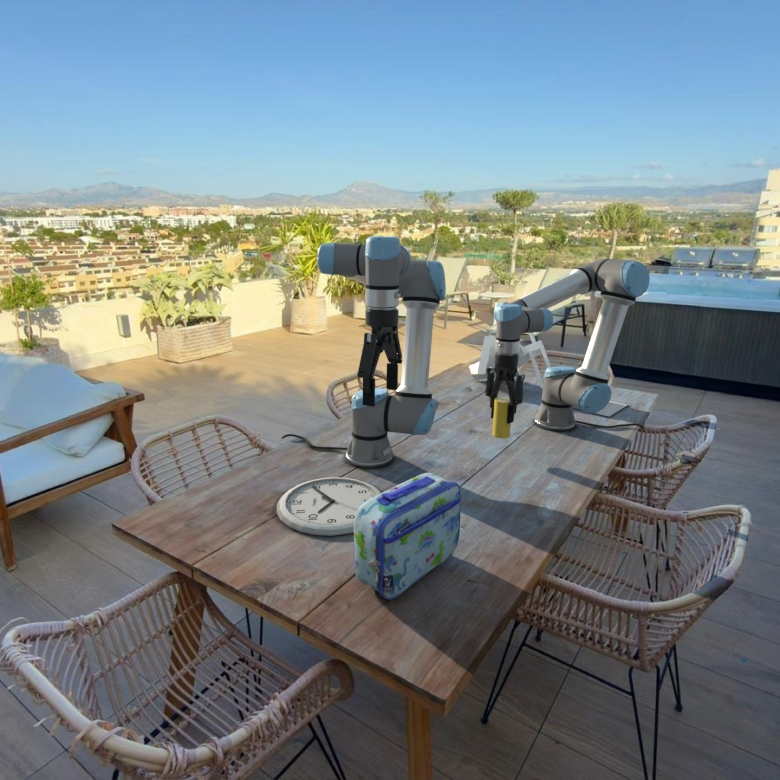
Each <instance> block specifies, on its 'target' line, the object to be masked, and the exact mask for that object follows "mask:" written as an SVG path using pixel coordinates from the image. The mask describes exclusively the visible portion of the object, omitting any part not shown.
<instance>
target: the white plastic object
mask: <svg viewBox="0 0 780 780" xmlns="http://www.w3.org/2000/svg"><path fill="white" fill-rule="evenodd" d="M528 336H529V338H530V341H531V343H529V344H527V345H525V346H524V345H522V343H520V345H519V352H518V353H517V354H518V355H519V357H518V365H517V370H518V369H520V368H521V367H522V366H524V365H525V364H527V363H528V362H529V361H531V364H532V367H533V369H534V373H535V375H536V379H537V382H538V386H539V387H540V389H541V390H543V380H544V379H543V377H542V374H541V371H540V368H539V365H538V362H537V359H536V357H538V356H541V355H542V357H543V361H544V363H545V367H546V369H547V368H549V367H552V366H551V363H550V360H549V356H548V353H547V351H546V348H545V345H544V344H543V341H542V340H541V339H540V340H537V339H536V338H535V335H534V333H528ZM536 340H537V341H536ZM495 347H496V337H495V336H494V335H484V337H483V342H482V348H481V351H480V352H481V353H480V357H479V361H477V362H475V363H472V364H470V365H469V366H468V367H469V371H470V375H471V376H472V378H473V379H474V381H480V380H487V368H489V367H494V366H495V363H494V361H495V353H496V351H495ZM495 378H496V373H495V377H494V379H495Z"/></svg>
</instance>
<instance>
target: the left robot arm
mask: <svg viewBox="0 0 780 780" xmlns="http://www.w3.org/2000/svg"><path fill="white" fill-rule="evenodd" d="M316 264H317V269H318V270H319V272H320V273H321V274H323V275H330V276H342V277H344V278H347V279H350V280H352V281H355V282H357V283H360V284H362V285H363V287H365V290H364V291H365V292H364V294H365V296H364V298H365V299H364V305H365V307H366V308H365V312H364V313H365V314H364V315H365V316H364V317H365V320H364V321H365V324H366V326H369V327H370V332H364V335H363V345H362V350H361V355H360V360H359V364H358V370H357V377H358V378H360V379H362V389H360V390H358V391H357V392H355V393H354V394H353V395H352V397H351V406H350V410H351V411H350V412H351V413H350V414H351V436H350V439H349V442H348V443H349V444H348V446H347V447H341V446H340V447H339V446H338V447H337V446H317V445H313V444H310V442H309V440H308V439H307V437H304V436H302V435H298V434H294V433H288V434H284V435H283V436H281V439H282V440H283V439H285V438H287V437H294V438H298V439H301V440H303V441H305V443H306V445H307V446H308V447H310V448H313V449H316V450H339V451H346V453H345V458H346V459H345V460H346V461H347V462H348V464H350V465H352V466H355V467H358V468H364V469H375V468H376V469H377V468H381V467H384V466H387V465H389V464H390V463H392V461H393V457H394V455H393V449H392V447H391V443H390V440H389V436H388V433H397V434H404V435H405V434H407V435H412V436H426V435H429V433H430V432H431V430H432V426H433V424H434V420H435V417H436V411H437V403H438V401H437V399H436V398H435V399H436V400H435V399H434V398H433V392H432V391H431V390H430V388H429V379H430V378H429V377H430V367H431V366H430V365H431V354H432V344H433V343H432V342H433V329H434V327H433V326H434V319H435V318H434V317H435V311H436V310H437V309H438V308H440V303H441V301H444V300H445V299H446V292H447V287H446V285H447V284H446V274H445V273H446V272H445V268H444V265H443V264H442V263H441V262H440V261H436V260H429V259H412V255H411V252H410V251H409V250H408V248H407V247H405V246H404V245H402V244H401V241H400V238H399V237H397V236H387V235H386V236H385V235H384V236H381V235H380V236H379V235H378V236H376V235H374V236H373V235H371V236H368V237H367V238H366V240H365V243H344V242H323V243H322V244H320V246H319V247H318V249H317V255H316ZM401 298H402V301H401V303H402V305H403V306H404V307H405V309H406V314H405V325H404V338H403V351H402V348H401V343H400V337H399V314H400V313H399V309H398V306H399V299H401ZM383 352H384V353H385V357H386V359H387V363H386V382H385V383H386V388H383V387H376V377H374V376H375V373H376V369H377V366H378V362H379V359H380V356H381V353H383ZM399 364H400V365H401V377H400V385H399V384H398V383H399V381H398V380H399ZM389 390H391V391H394V392H395V393H394V395H391V394H390V393H389Z"/></svg>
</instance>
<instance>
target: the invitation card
mask: <svg viewBox="0 0 780 780" xmlns="http://www.w3.org/2000/svg"><path fill="white" fill-rule="evenodd" d="M628 406H629V404H627V403H623V402H618V401H614V400H610V401H609V403H608V404H607V405H606V407H605V408H604V409H602V410H601V411H599V412H597V413H595V414H596V415H600V416H604V417H608V418H609V417H611V416H613V415H614V414H616V413H617V412H619V411H621V410H623V409H624V408H626V407H628ZM573 409H575V410H578V409H577V408H575V407H573Z"/></svg>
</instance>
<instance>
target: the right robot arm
mask: <svg viewBox="0 0 780 780" xmlns="http://www.w3.org/2000/svg"><path fill="white" fill-rule="evenodd" d="M650 281H651V280H650V272H649V269H648V267H647V266H646V265H645V264H644V263H643V262H641V261H637V260H631V259H615V258H600V259H596V260H594V261H591V262H588V263H586V264H584V265H583V264H582V265H581V266H579V267H576V268H574V269H573V270H571V272H570V273H569V275H566V276H564V277H562V278H560V279H557V280H556V281H554V282H552V283H549V284H547V285H545V286H543V287H541V288H539V289H537V290H535V291H533V292H530V293H528V294H526V295H524V296H521V297H520V298H518V299H515V300H513V301H510V302H507V301H502V302H500V303H497V305H496V306H495V307H494V309H493V319H494V320H495V321H496V331H495V332H496V333H495V339H496V347H495V351H496V353H495V361H494V363H495V366H494V367H489V368H487V379H486V385H485V395H484V396H486V397H488V398H489V408H490V410H491V411H490V419H492V420H493V417H494V402H495V398H497V397H499V396H498V394H499V391H500V389H501V387H502V383H503V382H504V383H505V385H506V388H507V391H508V392H507V393H508V398H510V404H509V405H508V415H507V423H508V424H510V423H511V424H512V423H515V421H514V420H515V414H516V413H517V409H518V408H517V406H518V405H521V404H523V403H524V401H523V400H524V381H525V378H526V374H525V373H522V374H521V373H520V372H519V371H518V369H517V365H518V357H519V355H518V354H517V353H518V352H519V345H520V344H521V334H529V333H533V334H534V333H542V332H547V331H550V329H551V328H552V327H553V324H554V314H553V312H552V311H551V310H550V308H552V307H554V306H556V305H559V304H560V303H563V302H564V301H567V300H568V299H571V298H573V297H575V296H577V295H585V294H587V293H591V292H600V293H599V296H600V298H601V301H602V302H601V306H600V309H599V311H598V315H597V319H596V321H595V324H594V328H593V330H592V334H591V336H590V340H589V341H588V342H589V343H588V346H587V348H586V352H585V354H584V358H583V360H582V365H581V366H580V367H578V368H576V367H574V366H566V365H565V366H564V365H562V366H561V365H559V366H558V365H557V366H551V367H549V368H547V367H546V369H545V370H544V375H543V379H542V380H543V390H542V389H541V390H542V392H541V402H540V405H539V407H538V409H537V410H536V413H535V416H534V424H535V425H536V426H537V427H539V428H542V429H544V430H549V431H556V432H567V431H572V430H574V429H575V428H576V424H580V425H585V426H591V427H596V428H601V429H614V428H620V427H632V426H633V427H634V426H635V427H639V428H640V429H641V430H642V429H643V430H645V427H644V426H643V425H641V424H639V423H624V424H623V423H621V424H620V423H619V424H615V425H614V424H613V425H601V424H596V423H590V422H585V421H580V420H577V419H576V418H575V417H576V416H575V413H574V409H576V408H577V409H576V410H579V411H581V412H583V413H588V414H596V413H597V412H599V411H601V410H602V409H604V408H605V407H606V405H607V404H608V403H609V401H611V398H612V388H611V387H610V386H609V385H608V384H609V381H610V378H609V375H608V370H609V366H610V363H611V360H612V358H613V354H614V352H615V348H616V345H617V342H618V338H619V336H620V333H621V330H622V327H623V325H624V321H625V318H626V315H627V313H628V310H629V307H630V306H633V305H634V304H635V303H636V301H637V298H639V297H642V296H643V295H644V294H645V293H646V292H647V291H648V289H649V286H650ZM495 373H496V378H494V377H495ZM574 407H575V408H574Z"/></svg>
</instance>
